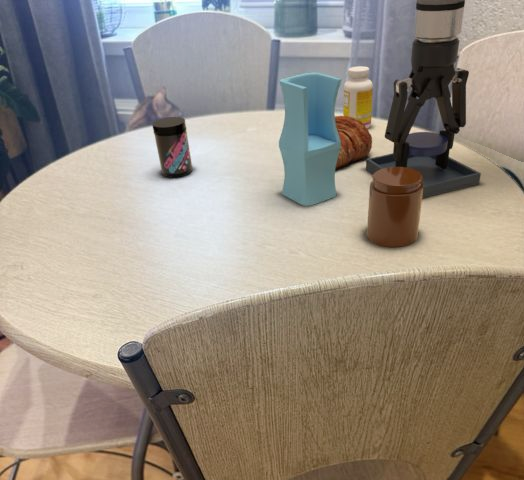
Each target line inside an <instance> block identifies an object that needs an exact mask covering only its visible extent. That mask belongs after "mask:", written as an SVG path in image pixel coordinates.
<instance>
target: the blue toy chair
mask: <svg viewBox="0 0 524 480" xmlns="http://www.w3.org/2000/svg"><path fill="white" fill-rule="evenodd" d="M342 80H343V79H342V78H340V77H336V76H333V75H330V74H329V75H328V74H325V73H321V72H315V71H314V72H313V71H312V72H306V73H301V74H298V75H293V76H289V77H284V78H281V79H280V80H279V85H280V89H281V92H282V97H283V105H284V120H283V125H282V129H281V132H280V136H279V139H278V148H279V151H280V156H281V158H282V164H283V169H284V170H283V171H284V175H283V176H284V178H283V185H282V190H281V195H283V196H284V197H287V198H288V199H290V200H292V201H293V202H295V203H297V204H298V205H301V206H304V207H310V206H314V205H316V204H319V203H322V202H325V201H327V200H330V199H334V198H336V197H337V190H336V170H335V168H336V163H337V159H338V155H339V152H340V148H341V141H340V138H339V135H338V131H337V128H336V123H335V116H336V114H335V111H336V110H335V109H336V103H337V97H338V93H339V90H340V88H341V83H342Z"/></svg>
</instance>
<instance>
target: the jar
mask: <svg viewBox="0 0 524 480" xmlns="http://www.w3.org/2000/svg"><path fill="white" fill-rule="evenodd" d="M422 181H423V179H422V175H421V173H420V172H418V171H417V170H414V169H411V168H406V167H389V168H384V169H380V170H378V171H376V172H375V173H374V174H372V180H371V182H370V183H369V193H368V210H367V211H368V212H367V225H366V227H367V228H366V230H367V231H366V236H367V239H368V240H369V241H370V242H372V243H373V244H375V245H378V246H381V247H386V248H400V247H407V246H408V245H409V246H410V245H411V244H413V243H415V241H416V240H417V239H418V234H419V226H420V221H421V211H422V203H423V198H422V196H423V188H424V184H423V182H422Z"/></svg>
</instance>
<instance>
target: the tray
mask: <svg viewBox="0 0 524 480" xmlns="http://www.w3.org/2000/svg"><path fill="white" fill-rule="evenodd" d="M436 156H437V155H436ZM436 156H429V157H418V156H411V155H408V160H407V168H411V169H414V170H417V171H418V172H420V173H421V175H422V179H423V181H422V182H423V184H424V188H423V196H422V199H424V198H428V197H433V196H437V195H441V194H445V193H449V192H453V191H457V190H461V189H466V188H470V187H473V186H477V185H480V182H481V176H482V173H481V172H480V171H477V170H476V169H473V168H471V167H469V166H468V165H466V164H464V163H462V162H460V161H457V160H456V159H454V158H452V157H450V156H449V157H448V164H447V169H442V168H440V167H438V166H437V165H435V163H436ZM395 165H396V160H395V159H394V158H393V152H392V153H387V154H384V155H379V156H375V157H370V158H366V160H365V170H366V171H368V172H369V173H371V174H372V175H374V173H375V172H376V171H378V170H380V169H384V168H389V167H395Z"/></svg>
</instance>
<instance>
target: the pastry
mask: <svg viewBox="0 0 524 480" xmlns="http://www.w3.org/2000/svg"><path fill="white" fill-rule="evenodd" d="M335 123H336V128H337V131H338V135H339V138H340V141H341V148H340V152H339V155H338V159H337V163H336V168H335V171H336V170H338V169H340V168H343V167H345V166H347V165H349V164H353V163H354V162H357V161H360V160H364V159H365V158H366V157H367V156H368V155H369V154H370V153H371V150H372V147H373V137H372V134H371V133H370V132H369V130H368V128H367V129H366V127H365V125H364V124H363V123H362V122H361V121H360V120H358V119H356V118H353V117H349V116H343V115H335Z"/></svg>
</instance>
